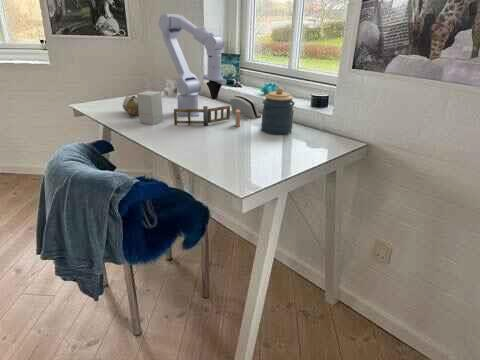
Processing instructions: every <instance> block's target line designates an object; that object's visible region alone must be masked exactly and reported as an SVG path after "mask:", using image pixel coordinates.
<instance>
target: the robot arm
mask: <svg viewBox="0 0 480 360" xmlns="http://www.w3.org/2000/svg"><path fill="white" fill-rule="evenodd" d="M158 26H159V29H160V31H161V33H162V39H163V41H164V44H165V46H166V48H167V51H168V53H169V55H170V59H171V61H172V63H173V65H174V68H175V70H176V73H177V74H178V77H177V79H176V84H177V89H178V90H177V91H178V92H179V94H177V109H199V97H198V96H199V94H200V92H201V89H202V83H201V82H200V80H199V79H198V77H197V76H196V74H194V72H191V70H190V68H189V66H188V63H187V60H186V58H185V56H184V53H183V51H182V49H181V47H180V44H179V42H178V39H177V38H178V37H179V35H180V34H181V32H182V29H183V30H184V31H186V32H188V33H189V34H191V35H193V39H194V40H195V41H197V42H198V43H200V44H201V45H203V47H204V49H205V50H206V55H207V74H203V75H202V80H204V81H205V80H206V81H207V82H206V85H207V87H208V91H209V93H210V96H211V97H210V98H211V100H217V99H218V96H219V93H220V90H221V87H222V86H223V85H224V86H225V85H227V79H226V78H224V77H223V76H222V50H223V49H224V47H225V40H224V38H223V37H222V36H221V35H219V34H218V35H217V34H216V35H215V34H214V32H213V31H212V32H210V31H209V30H208V29H207V28H206V26H198V27H197V26H196V25H195V24H194V23H192V22H190V20H188V19H187V18H185V16H184V15H182V14H181V13H162V14H160V16H159V20H158ZM199 115H200V112H190V117H192V116H193V117H194V116H195V117H198V116H199ZM178 116H179V117H180V116H181V117H183V116H184V117H188V112H177V117H178Z"/></svg>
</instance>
